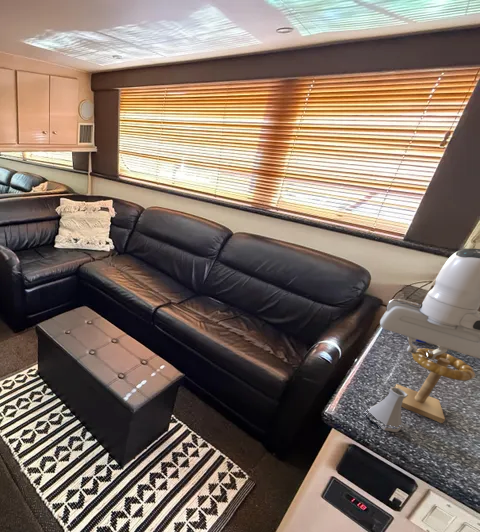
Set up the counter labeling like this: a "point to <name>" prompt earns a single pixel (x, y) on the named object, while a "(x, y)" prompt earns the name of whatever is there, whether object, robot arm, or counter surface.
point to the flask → (389, 409)
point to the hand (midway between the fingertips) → (419, 354)
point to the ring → (461, 373)
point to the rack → (425, 397)
